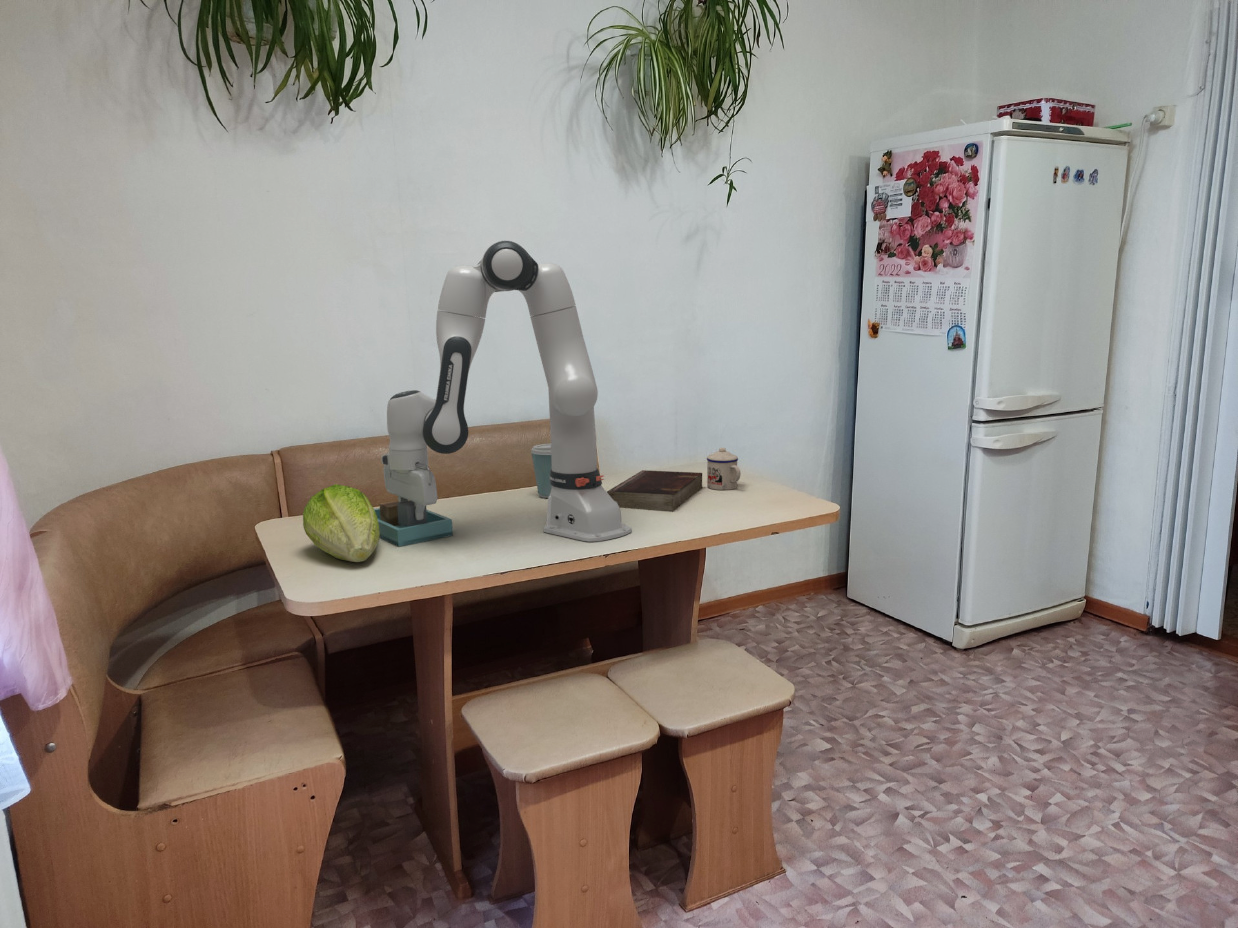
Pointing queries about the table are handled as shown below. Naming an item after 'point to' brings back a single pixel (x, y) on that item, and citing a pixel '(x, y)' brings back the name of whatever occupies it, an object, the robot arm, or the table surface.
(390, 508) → the walnut block
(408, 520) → the charcoal block
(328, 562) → the table surface
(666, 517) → the table surface
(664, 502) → the hardback book
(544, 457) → the disposable coffee cup
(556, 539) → the table surface
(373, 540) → the lettuce
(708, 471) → the teacup with lid
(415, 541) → the teal tray
